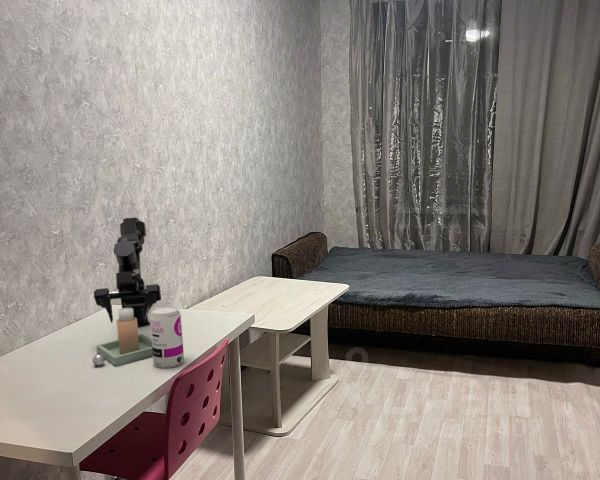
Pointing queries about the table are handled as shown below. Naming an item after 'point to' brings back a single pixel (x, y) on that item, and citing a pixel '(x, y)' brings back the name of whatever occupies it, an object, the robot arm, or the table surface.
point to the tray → (116, 359)
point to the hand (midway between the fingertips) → (128, 320)
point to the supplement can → (166, 337)
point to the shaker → (127, 331)
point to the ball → (98, 360)
